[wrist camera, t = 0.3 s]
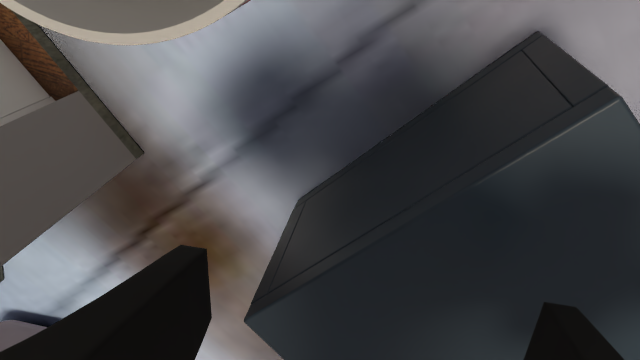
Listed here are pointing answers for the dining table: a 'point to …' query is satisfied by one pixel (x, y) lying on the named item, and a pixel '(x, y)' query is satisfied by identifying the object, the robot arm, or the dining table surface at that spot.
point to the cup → (124, 18)
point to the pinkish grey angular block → (16, 332)
